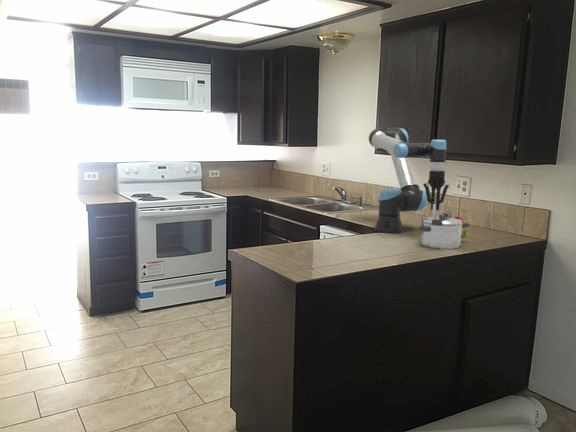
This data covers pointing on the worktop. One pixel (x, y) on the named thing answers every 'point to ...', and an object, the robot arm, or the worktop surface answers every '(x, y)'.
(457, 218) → the bird rattle
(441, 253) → the worktop surface
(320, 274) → the worktop surface
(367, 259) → the worktop surface
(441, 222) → the lid
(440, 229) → the pot
